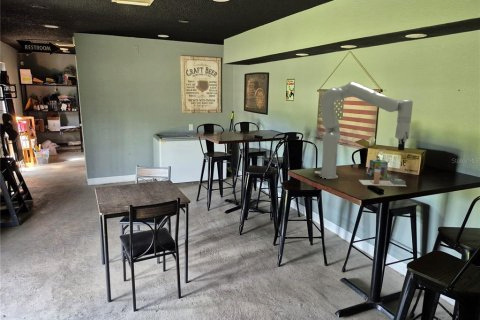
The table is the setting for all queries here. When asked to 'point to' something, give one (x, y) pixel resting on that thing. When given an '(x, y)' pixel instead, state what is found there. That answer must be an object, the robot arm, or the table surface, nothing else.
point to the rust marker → (377, 176)
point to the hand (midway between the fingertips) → (400, 150)
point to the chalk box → (378, 167)
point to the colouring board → (384, 182)
